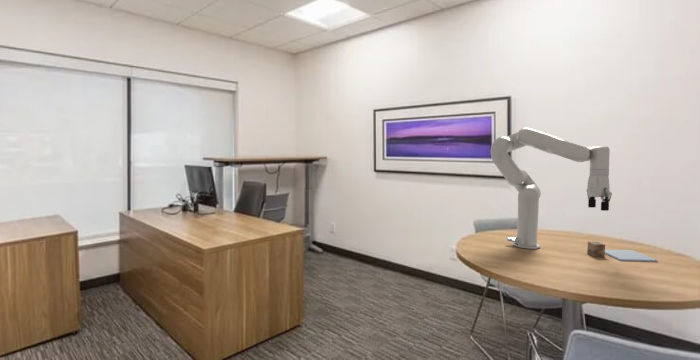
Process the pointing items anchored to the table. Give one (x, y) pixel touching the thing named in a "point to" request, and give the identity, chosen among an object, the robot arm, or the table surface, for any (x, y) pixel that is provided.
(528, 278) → the table surface
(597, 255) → the walnut block
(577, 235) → the table surface
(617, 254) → the slate board
